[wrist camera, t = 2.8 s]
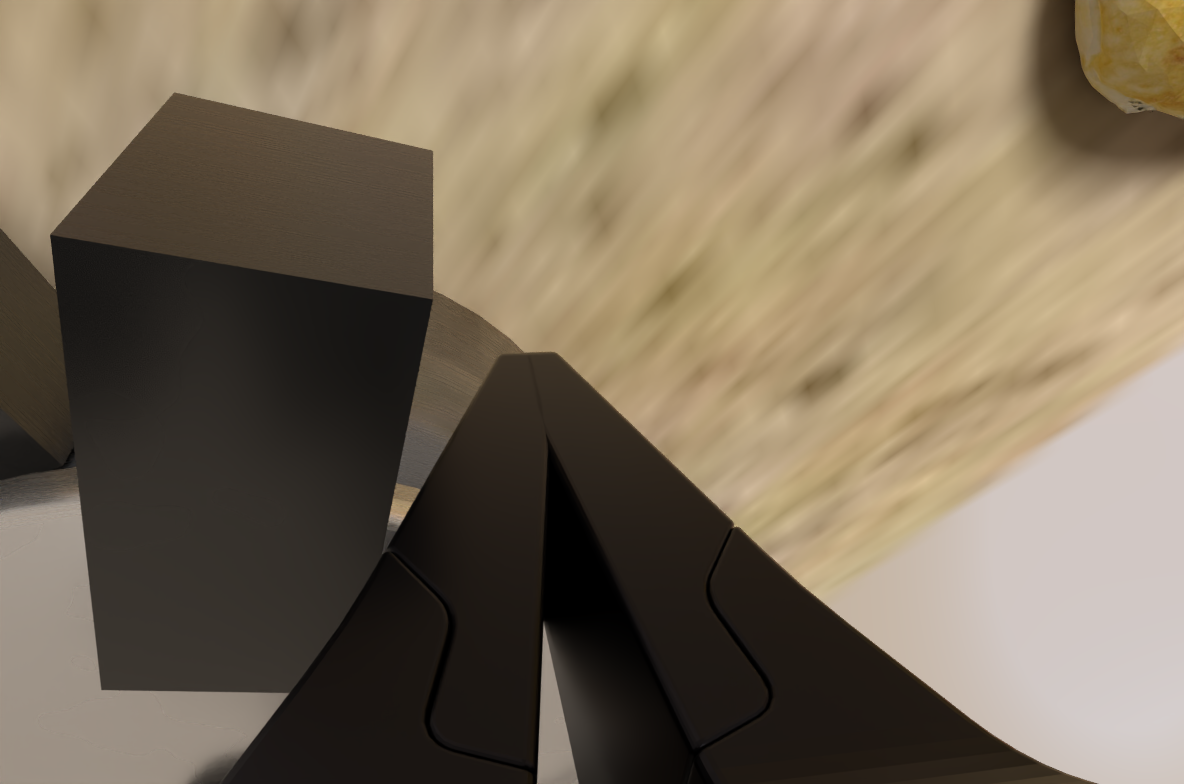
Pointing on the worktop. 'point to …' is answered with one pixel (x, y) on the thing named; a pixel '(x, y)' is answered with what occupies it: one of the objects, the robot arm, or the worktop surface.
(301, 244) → the cooker lid
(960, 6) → the worktop surface
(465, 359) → the cooker pot
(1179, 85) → the bread roll
